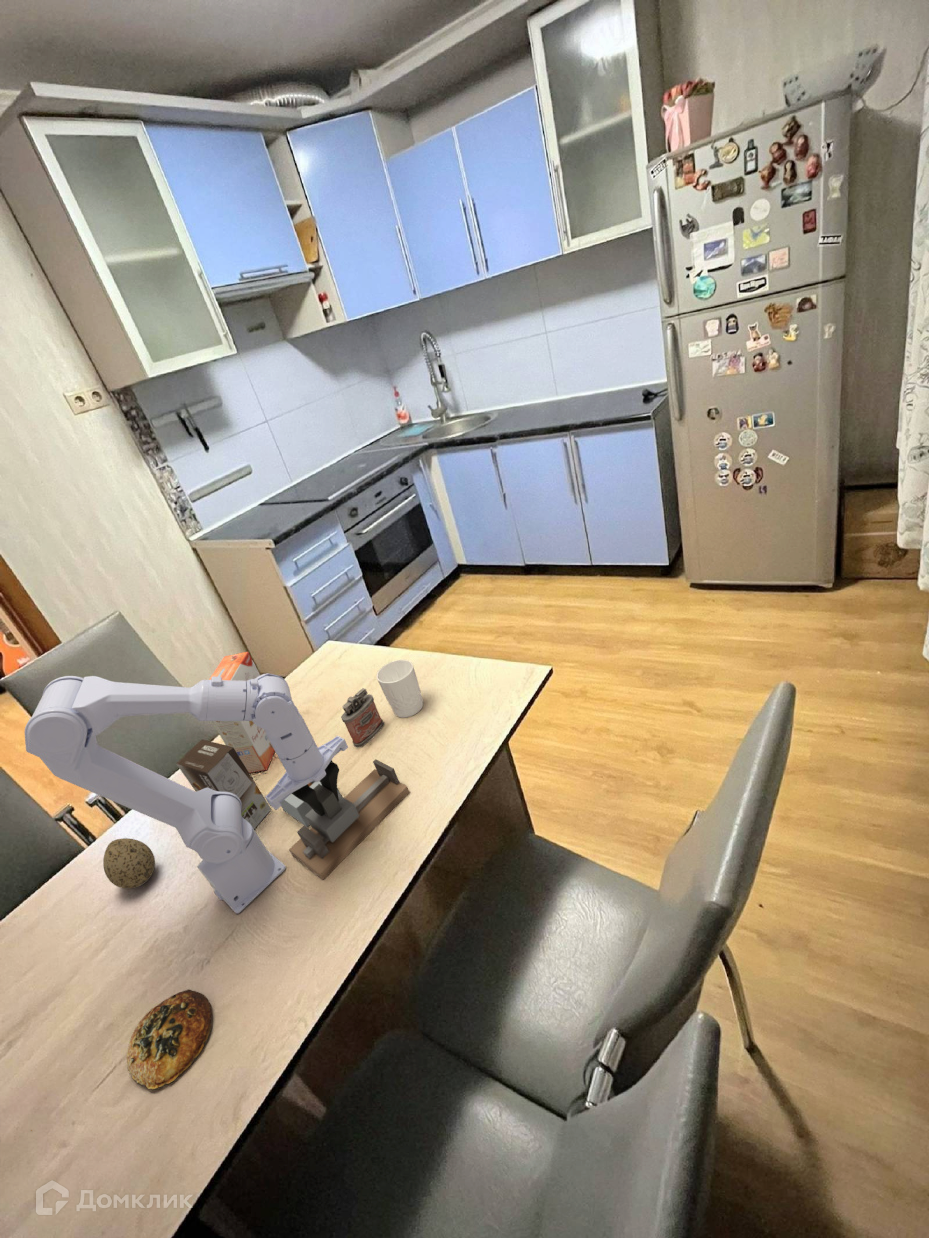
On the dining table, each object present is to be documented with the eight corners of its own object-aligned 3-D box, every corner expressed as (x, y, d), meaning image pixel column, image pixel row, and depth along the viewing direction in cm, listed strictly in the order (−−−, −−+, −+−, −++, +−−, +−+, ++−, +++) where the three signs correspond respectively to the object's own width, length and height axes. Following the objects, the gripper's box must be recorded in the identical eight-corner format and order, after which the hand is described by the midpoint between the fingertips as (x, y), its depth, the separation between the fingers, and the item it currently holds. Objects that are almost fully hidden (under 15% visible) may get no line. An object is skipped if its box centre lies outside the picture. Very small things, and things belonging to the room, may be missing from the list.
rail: (323, 880, 90) (311, 860, 88) (292, 855, 96) (280, 835, 94) (409, 792, 102) (401, 772, 99) (377, 774, 108) (368, 755, 105)
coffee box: (273, 808, 107) (235, 746, 99) (248, 836, 102) (207, 773, 94) (240, 798, 111) (202, 738, 104) (216, 824, 107) (173, 763, 99)
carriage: (332, 842, 92) (316, 813, 89) (311, 827, 96) (295, 799, 93) (359, 815, 96) (345, 787, 92) (338, 802, 100) (323, 774, 96)
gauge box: (307, 827, 100) (297, 808, 98) (283, 809, 106) (272, 791, 103) (342, 795, 105) (332, 777, 103) (316, 780, 110) (306, 761, 108)
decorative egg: (168, 876, 99) (138, 839, 94) (126, 906, 95) (93, 869, 91) (158, 854, 104) (128, 817, 99) (118, 882, 101) (85, 846, 96)
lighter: (361, 749, 115) (344, 712, 110) (350, 744, 117) (332, 707, 112) (387, 723, 120) (372, 686, 115) (376, 719, 122) (361, 683, 117)
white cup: (385, 719, 121) (370, 683, 116) (399, 695, 128) (385, 659, 123) (418, 720, 118) (404, 682, 114) (431, 695, 125) (418, 658, 120)
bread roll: (226, 986, 79) (206, 973, 76) (203, 1087, 70) (180, 1076, 67) (154, 1001, 80) (132, 988, 77) (123, 1101, 72) (96, 1091, 69)
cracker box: (269, 770, 116) (223, 691, 106) (242, 775, 117) (194, 697, 107) (288, 724, 128) (248, 649, 118) (263, 729, 129) (222, 655, 119)
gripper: (269, 788, 81) (306, 849, 87) (346, 724, 89) (374, 784, 96) (245, 771, 85) (281, 830, 92) (320, 711, 94) (348, 770, 100)
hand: (327, 806), depth 94 cm, fingers closed on carriage, 2 cm apart
